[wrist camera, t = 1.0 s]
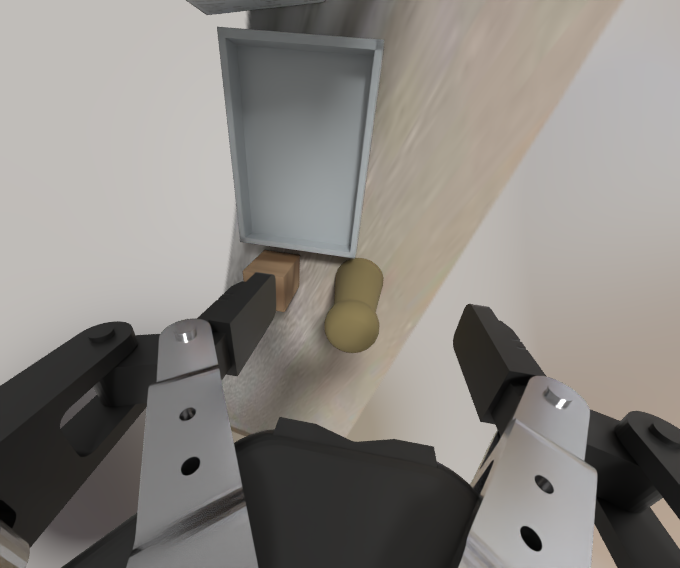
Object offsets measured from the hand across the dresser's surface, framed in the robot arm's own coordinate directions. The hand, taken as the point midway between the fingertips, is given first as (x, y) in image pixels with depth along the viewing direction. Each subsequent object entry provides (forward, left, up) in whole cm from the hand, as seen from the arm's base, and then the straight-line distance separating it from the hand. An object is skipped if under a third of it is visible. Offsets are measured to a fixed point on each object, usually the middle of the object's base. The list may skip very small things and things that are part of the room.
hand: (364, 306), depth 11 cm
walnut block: (+9, -10, -20) cm, 24 cm away
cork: (+9, 0, -20) cm, 22 cm away
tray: (-4, -8, -19) cm, 21 cm away
